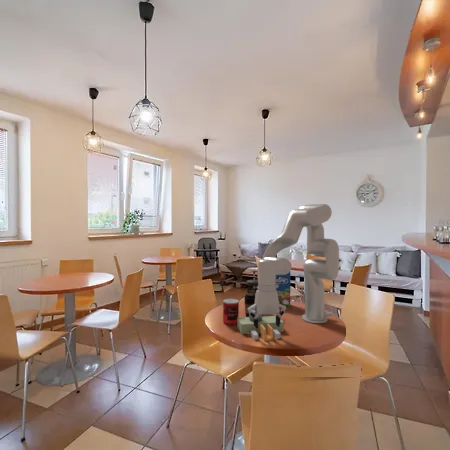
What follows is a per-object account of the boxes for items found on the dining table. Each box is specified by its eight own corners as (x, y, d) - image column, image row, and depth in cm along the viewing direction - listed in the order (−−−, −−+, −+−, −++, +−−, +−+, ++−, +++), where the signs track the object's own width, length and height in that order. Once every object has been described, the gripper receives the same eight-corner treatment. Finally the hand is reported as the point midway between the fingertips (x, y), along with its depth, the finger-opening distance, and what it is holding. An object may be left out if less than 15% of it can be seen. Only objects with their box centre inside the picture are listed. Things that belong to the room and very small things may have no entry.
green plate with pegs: (277, 324, 139) (277, 307, 139) (289, 337, 123) (289, 318, 123) (237, 326, 136) (237, 309, 136) (244, 340, 120) (244, 320, 120)
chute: (268, 335, 126) (268, 323, 126) (273, 340, 120) (273, 328, 120) (260, 335, 126) (260, 324, 126) (264, 341, 120) (264, 329, 120)
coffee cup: (259, 322, 142) (259, 296, 142) (242, 320, 144) (243, 295, 144) (260, 316, 151) (260, 292, 151) (245, 315, 153) (245, 291, 153)
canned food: (229, 318, 147) (229, 297, 147) (241, 322, 142) (241, 300, 142) (219, 322, 141) (220, 300, 141) (232, 326, 136) (232, 303, 136)
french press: (243, 312, 158) (243, 271, 158) (246, 307, 167) (246, 268, 167) (264, 314, 155) (264, 272, 155) (265, 309, 164) (266, 269, 164)
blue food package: (270, 303, 176) (270, 263, 176) (289, 304, 174) (289, 264, 174) (269, 306, 170) (270, 265, 170) (290, 307, 168) (290, 265, 168)
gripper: (282, 284, 128) (282, 322, 128) (245, 286, 125) (245, 324, 125) (288, 288, 121) (289, 328, 121) (249, 290, 118) (249, 331, 118)
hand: (267, 326), depth 123 cm, fingers open, 9 cm apart
